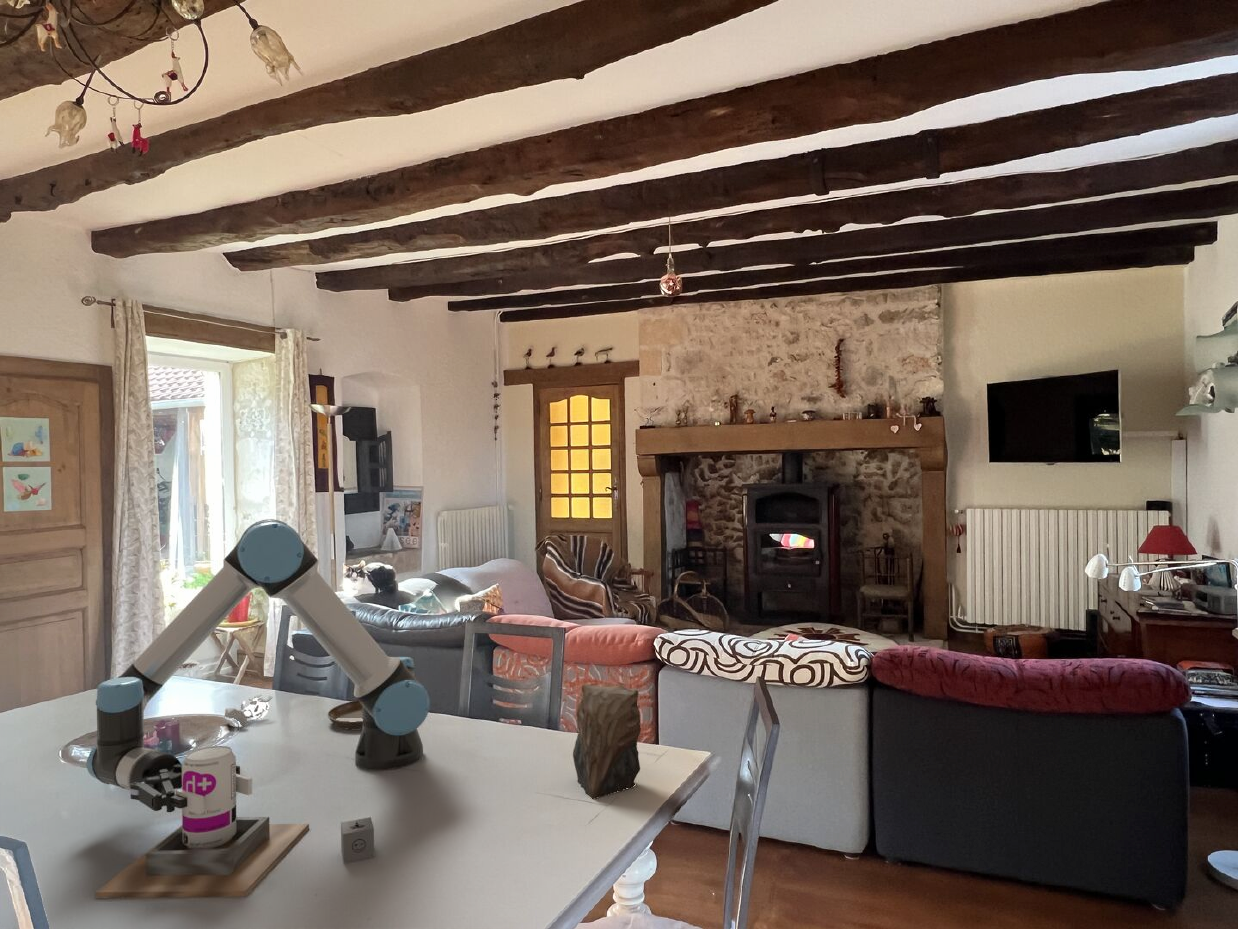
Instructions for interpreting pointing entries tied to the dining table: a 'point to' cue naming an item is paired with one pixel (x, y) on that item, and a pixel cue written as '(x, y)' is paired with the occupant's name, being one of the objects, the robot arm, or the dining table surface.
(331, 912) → the dining table surface
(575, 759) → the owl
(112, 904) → the dining table surface
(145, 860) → the collar board
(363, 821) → the dice cube
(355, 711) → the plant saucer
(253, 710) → the figurine
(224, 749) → the supplement can
